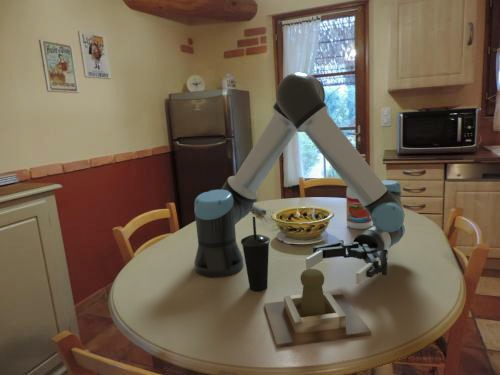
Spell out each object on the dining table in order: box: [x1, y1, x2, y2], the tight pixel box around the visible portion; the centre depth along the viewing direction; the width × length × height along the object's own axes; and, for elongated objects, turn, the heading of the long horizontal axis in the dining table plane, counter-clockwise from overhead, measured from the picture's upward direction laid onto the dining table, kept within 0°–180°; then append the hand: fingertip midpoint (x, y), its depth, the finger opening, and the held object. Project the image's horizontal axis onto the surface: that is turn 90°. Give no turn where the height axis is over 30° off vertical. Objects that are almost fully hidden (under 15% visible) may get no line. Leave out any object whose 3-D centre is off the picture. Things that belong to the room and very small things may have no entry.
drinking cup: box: [240, 216, 271, 293], centre depth 96 cm, size 8×8×20 cm
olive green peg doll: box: [300, 268, 327, 318], centre depth 81 cm, size 6×6×11 cm
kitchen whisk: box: [251, 203, 277, 227], centre depth 161 cm, size 6×34×6 cm, turn 19°
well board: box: [263, 290, 372, 349], centre depth 82 cm, size 20×16×4 cm
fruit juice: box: [345, 153, 373, 230], centre depth 139 cm, size 9×9×28 cm
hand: (330, 271), depth 85 cm, fingers open, 13 cm apart
